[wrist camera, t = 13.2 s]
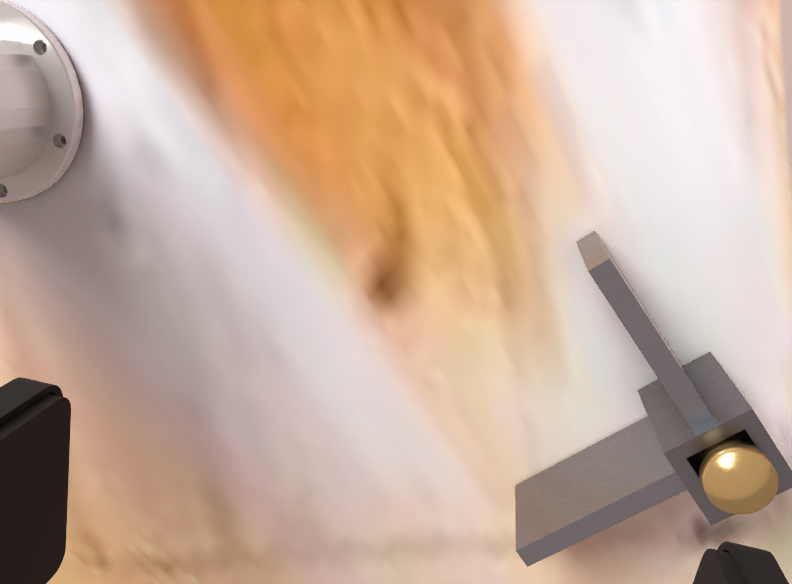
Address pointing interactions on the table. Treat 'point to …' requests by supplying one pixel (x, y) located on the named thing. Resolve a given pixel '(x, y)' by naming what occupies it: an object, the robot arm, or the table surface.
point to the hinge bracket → (639, 438)
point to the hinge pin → (737, 476)
